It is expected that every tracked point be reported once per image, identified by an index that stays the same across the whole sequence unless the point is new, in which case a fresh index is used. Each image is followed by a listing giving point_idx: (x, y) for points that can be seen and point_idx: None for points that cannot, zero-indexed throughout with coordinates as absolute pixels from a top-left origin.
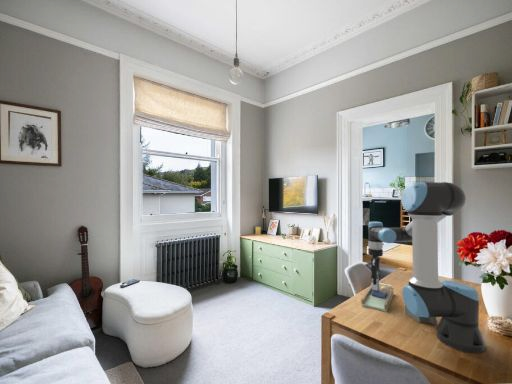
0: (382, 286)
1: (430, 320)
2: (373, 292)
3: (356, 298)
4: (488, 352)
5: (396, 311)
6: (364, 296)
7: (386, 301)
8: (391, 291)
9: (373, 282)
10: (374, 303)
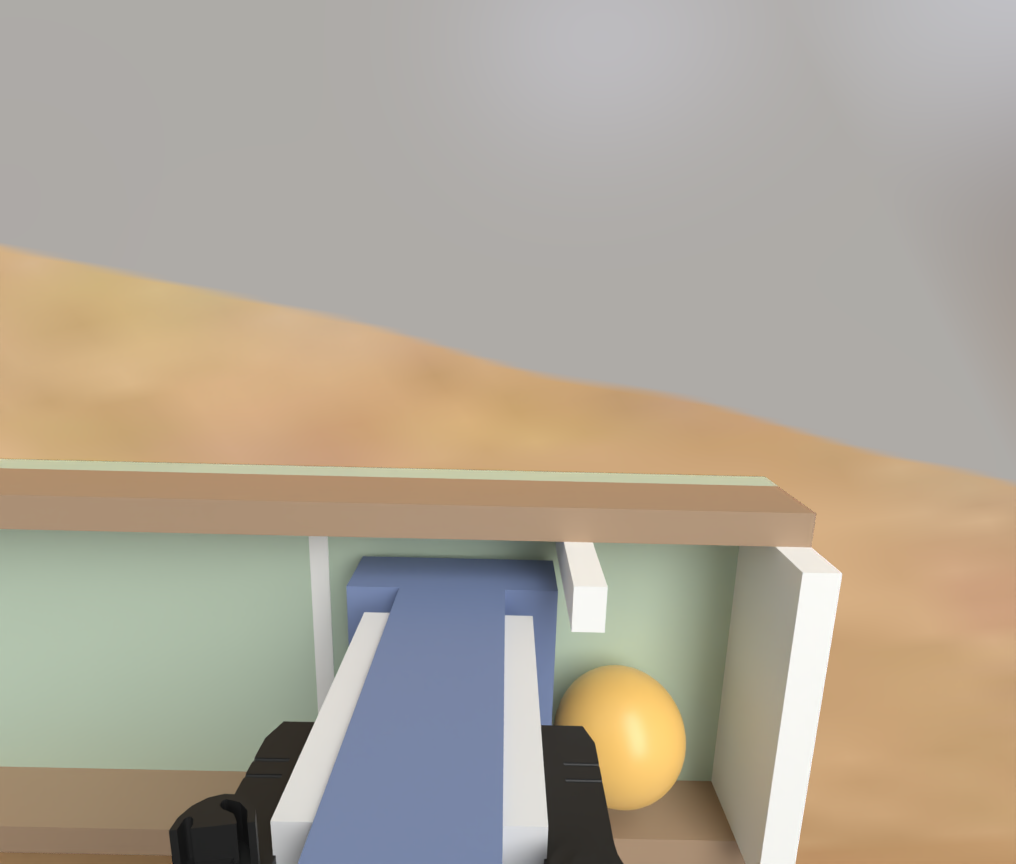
0: (629, 763)
1: None
2: (348, 612)
3: (171, 326)
4: None
5: (108, 857)
6: (5, 512)
7: (59, 836)
8: None
9: (254, 768)
10: (75, 632)
